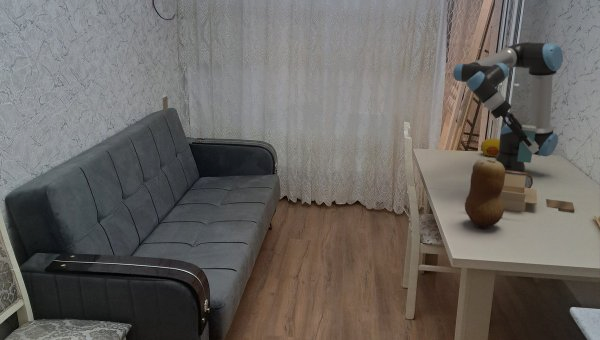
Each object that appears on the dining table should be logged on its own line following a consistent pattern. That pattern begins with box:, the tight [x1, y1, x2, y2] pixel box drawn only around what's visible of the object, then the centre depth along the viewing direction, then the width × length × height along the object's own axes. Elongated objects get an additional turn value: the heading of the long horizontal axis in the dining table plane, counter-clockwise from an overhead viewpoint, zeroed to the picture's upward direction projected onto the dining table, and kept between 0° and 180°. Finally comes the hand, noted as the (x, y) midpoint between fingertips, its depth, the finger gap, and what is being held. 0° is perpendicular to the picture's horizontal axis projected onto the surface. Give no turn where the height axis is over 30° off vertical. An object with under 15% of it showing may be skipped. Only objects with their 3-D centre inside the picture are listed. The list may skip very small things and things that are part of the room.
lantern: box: [466, 138, 500, 158], centre depth 291 cm, size 10×10×30 cm
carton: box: [500, 174, 538, 213], centre depth 215 cm, size 23×26×9 cm
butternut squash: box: [464, 158, 505, 229], centre depth 188 cm, size 14×13×25 cm
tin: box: [505, 170, 534, 189], centre depth 233 cm, size 15×3×8 cm, turn 71°
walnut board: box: [545, 198, 575, 214], centre depth 212 cm, size 10×10×1 cm
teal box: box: [517, 124, 536, 164], centre depth 207 cm, size 5×5×14 cm
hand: (535, 150), depth 206 cm, fingers closed on teal box, 5 cm apart
